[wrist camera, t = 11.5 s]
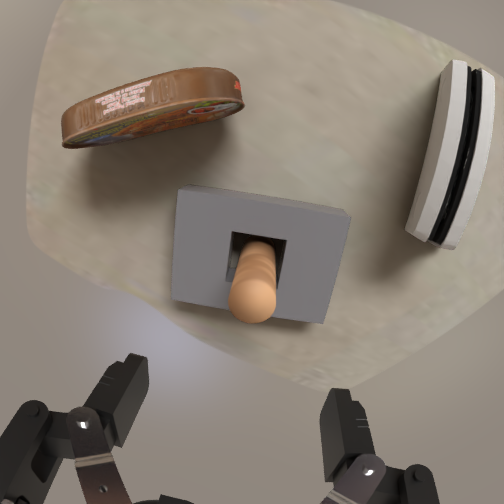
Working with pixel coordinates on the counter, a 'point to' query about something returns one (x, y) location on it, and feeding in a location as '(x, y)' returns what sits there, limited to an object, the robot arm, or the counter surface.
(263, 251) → the peg
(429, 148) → the hinge
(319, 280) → the hole block
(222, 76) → the tin
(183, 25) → the counter surface
